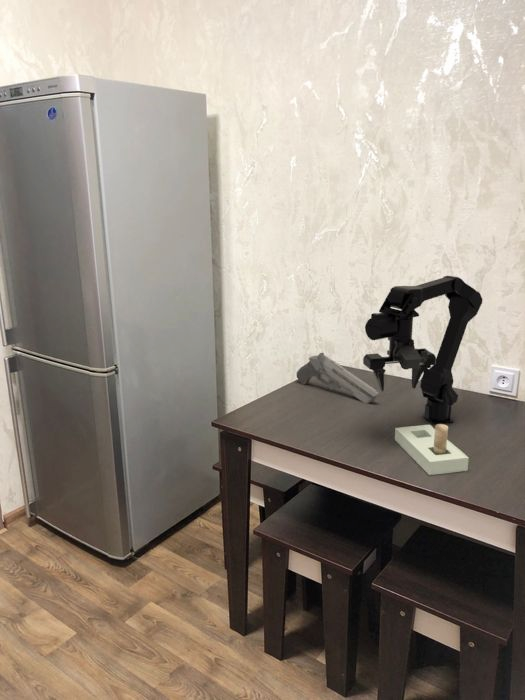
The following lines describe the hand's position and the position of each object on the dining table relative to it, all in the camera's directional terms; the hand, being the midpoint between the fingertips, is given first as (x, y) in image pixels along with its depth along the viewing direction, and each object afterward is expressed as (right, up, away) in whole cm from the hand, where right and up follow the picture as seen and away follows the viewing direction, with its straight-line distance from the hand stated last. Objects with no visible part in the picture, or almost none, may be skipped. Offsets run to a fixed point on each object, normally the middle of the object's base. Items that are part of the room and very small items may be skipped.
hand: (397, 389), depth 154 cm
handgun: (-13, -4, +35) cm, 38 cm away
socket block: (+6, -16, -9) cm, 19 cm away
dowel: (+7, -17, -14) cm, 23 cm away
